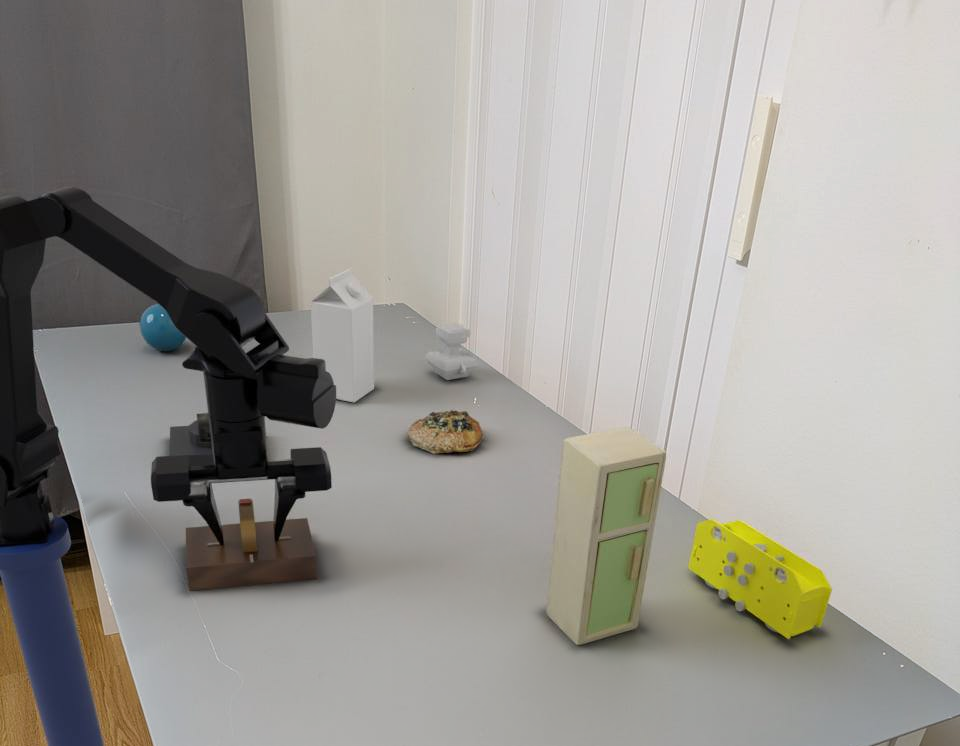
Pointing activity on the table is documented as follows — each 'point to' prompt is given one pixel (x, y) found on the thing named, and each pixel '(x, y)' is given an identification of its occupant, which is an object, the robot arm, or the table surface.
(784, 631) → the yellow toy chassis
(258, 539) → the plate
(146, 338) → the ball
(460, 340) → the stamp
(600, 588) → the toy refrigerator
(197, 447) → the block
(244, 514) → the thumbturn
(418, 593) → the table surface
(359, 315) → the milk carton
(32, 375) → the robot arm
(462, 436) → the bread roll
